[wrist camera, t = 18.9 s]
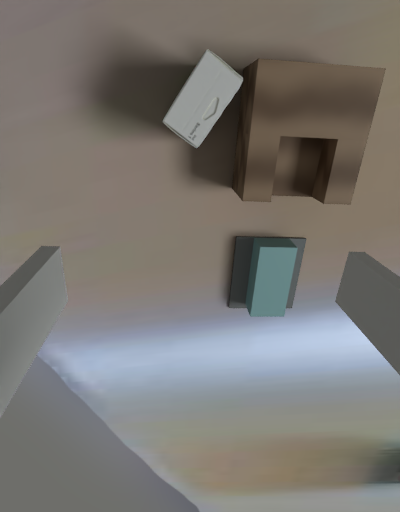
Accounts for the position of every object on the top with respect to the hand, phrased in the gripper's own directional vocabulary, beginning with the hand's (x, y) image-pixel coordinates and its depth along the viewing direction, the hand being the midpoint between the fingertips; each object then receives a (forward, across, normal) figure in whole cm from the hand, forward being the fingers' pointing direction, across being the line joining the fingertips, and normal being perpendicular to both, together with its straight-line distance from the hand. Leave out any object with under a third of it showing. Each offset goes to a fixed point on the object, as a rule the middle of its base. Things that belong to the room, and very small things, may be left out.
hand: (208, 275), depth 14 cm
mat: (+35, +15, -18) cm, 42 cm away
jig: (+35, +15, +5) cm, 38 cm away
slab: (+34, +15, -18) cm, 41 cm away
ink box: (+35, +1, +8) cm, 36 cm away
